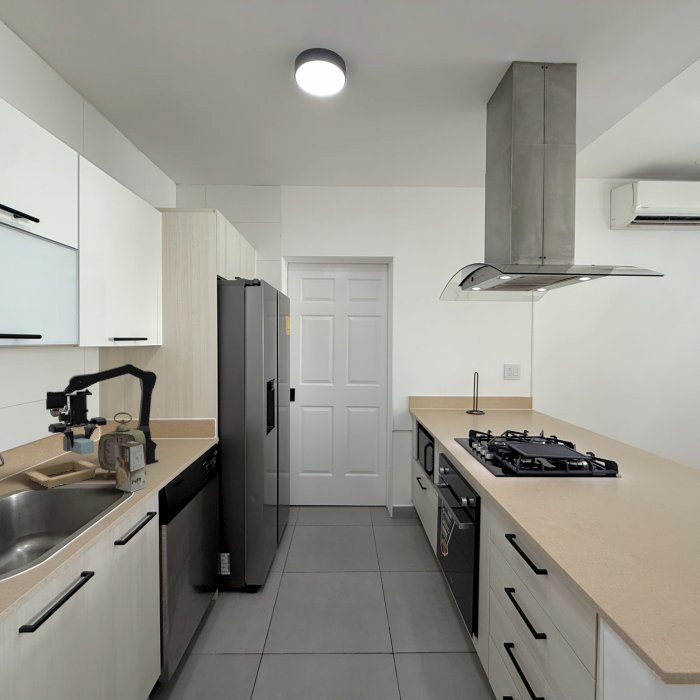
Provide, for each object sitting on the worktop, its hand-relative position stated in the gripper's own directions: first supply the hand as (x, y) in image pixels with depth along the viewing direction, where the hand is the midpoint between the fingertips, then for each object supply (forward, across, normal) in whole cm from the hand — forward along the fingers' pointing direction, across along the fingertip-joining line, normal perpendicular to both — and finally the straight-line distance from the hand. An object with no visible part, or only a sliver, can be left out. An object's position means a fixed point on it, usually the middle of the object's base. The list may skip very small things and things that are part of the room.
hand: (79, 446), depth 160 cm
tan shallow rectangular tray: (+11, +6, +1) cm, 13 cm away
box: (+2, 0, +1) cm, 2 cm away
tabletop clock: (+11, -8, +18) cm, 23 cm away
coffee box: (+11, -4, +33) cm, 35 cm away
